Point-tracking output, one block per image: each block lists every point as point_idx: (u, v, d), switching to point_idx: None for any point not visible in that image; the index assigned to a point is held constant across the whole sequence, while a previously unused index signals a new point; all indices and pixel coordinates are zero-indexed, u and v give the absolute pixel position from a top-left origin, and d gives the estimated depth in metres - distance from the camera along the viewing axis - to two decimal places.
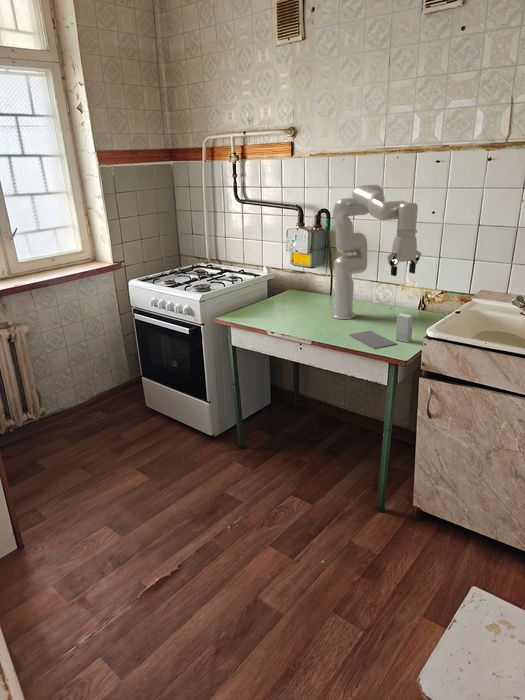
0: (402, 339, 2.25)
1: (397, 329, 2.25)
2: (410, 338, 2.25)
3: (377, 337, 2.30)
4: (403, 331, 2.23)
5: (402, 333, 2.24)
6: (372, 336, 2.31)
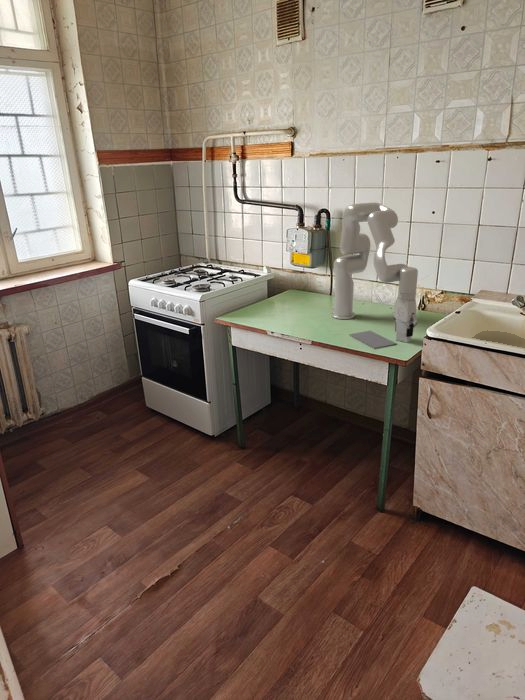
0: (402, 339, 2.25)
1: (397, 329, 2.25)
2: (410, 338, 2.25)
3: (377, 337, 2.30)
4: (403, 331, 2.23)
5: (402, 333, 2.24)
6: (372, 336, 2.31)
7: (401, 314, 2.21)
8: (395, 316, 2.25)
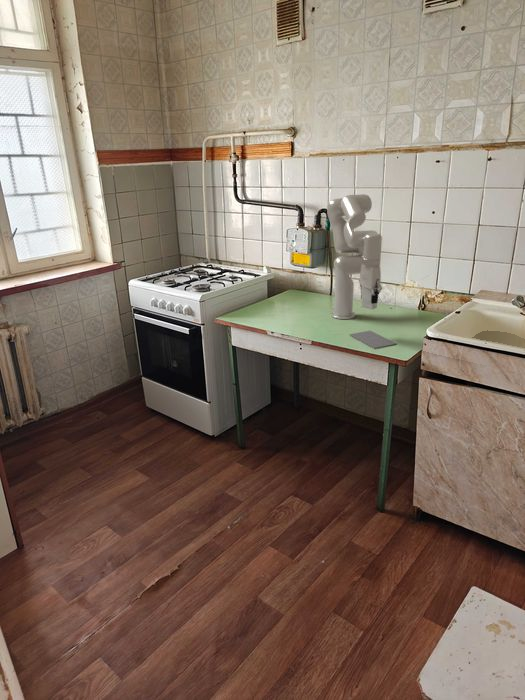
0: (367, 306, 2.26)
1: (362, 296, 2.26)
2: (375, 305, 2.26)
3: (377, 337, 2.30)
4: (368, 298, 2.24)
5: (367, 300, 2.24)
6: (372, 336, 2.31)
7: (366, 281, 2.21)
8: (360, 283, 2.25)
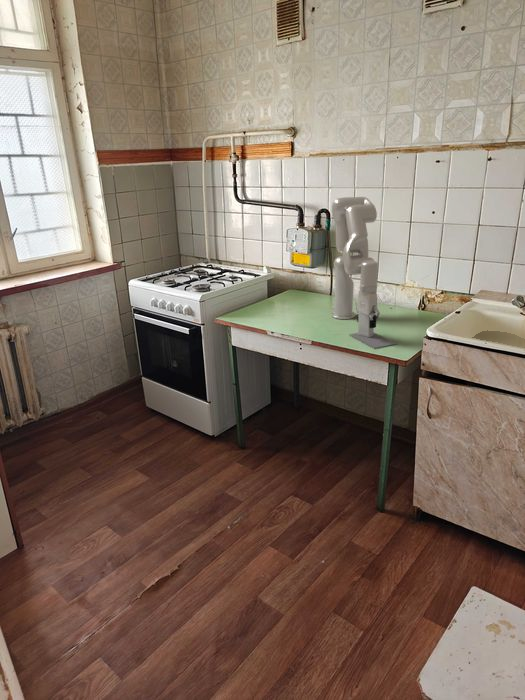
0: (364, 334, 2.31)
1: (359, 324, 2.31)
2: (372, 333, 2.31)
3: (377, 337, 2.30)
4: (365, 326, 2.29)
5: (364, 328, 2.30)
6: (372, 336, 2.31)
7: (363, 307, 2.26)
8: (358, 309, 2.30)
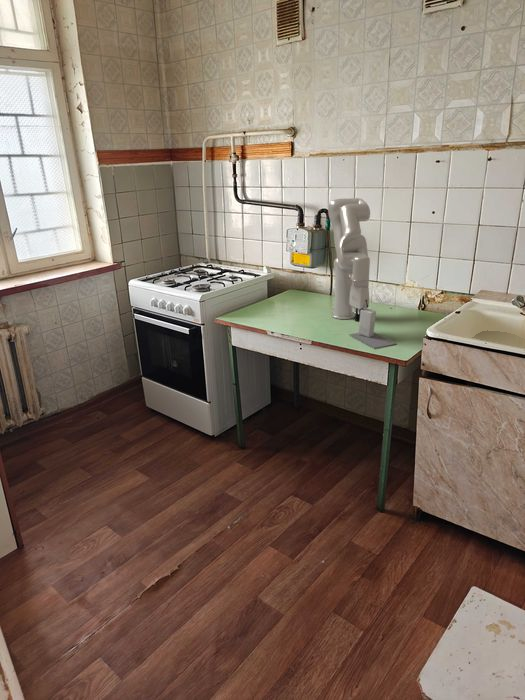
0: (364, 333, 2.31)
1: (360, 323, 2.31)
2: (372, 333, 2.31)
3: (377, 337, 2.30)
4: (366, 326, 2.29)
5: (365, 328, 2.29)
6: (372, 336, 2.31)
7: (355, 301, 2.31)
8: (350, 303, 2.35)
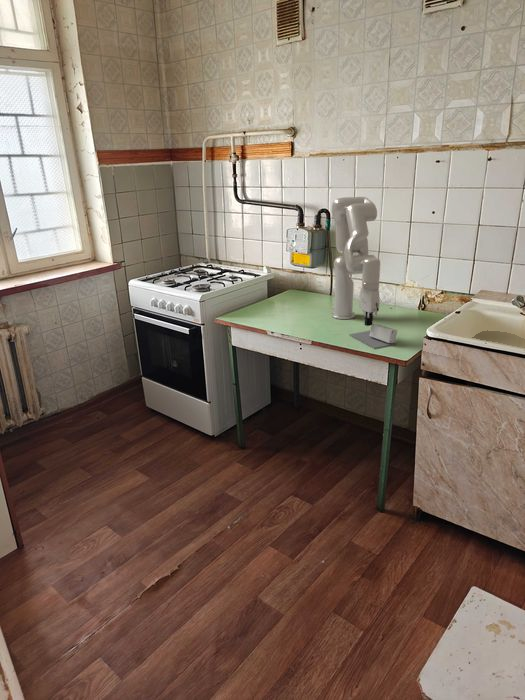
0: (371, 331, 2.28)
1: (379, 327, 2.24)
2: None
3: None
4: (378, 334, 2.25)
5: (376, 333, 2.26)
6: None
7: (365, 304, 2.24)
8: (360, 306, 2.28)
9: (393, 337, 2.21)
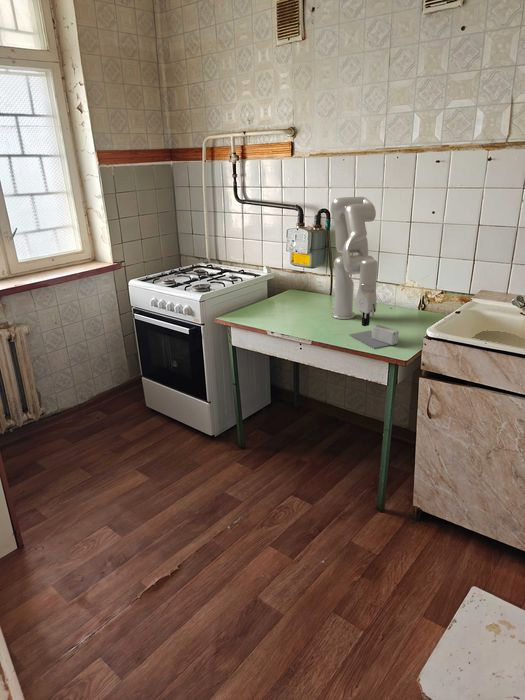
0: (373, 333, 2.27)
1: (381, 330, 2.23)
2: None
3: None
4: (380, 336, 2.24)
5: (378, 335, 2.25)
6: None
7: (362, 305, 2.26)
8: (357, 307, 2.30)
9: (395, 338, 2.20)
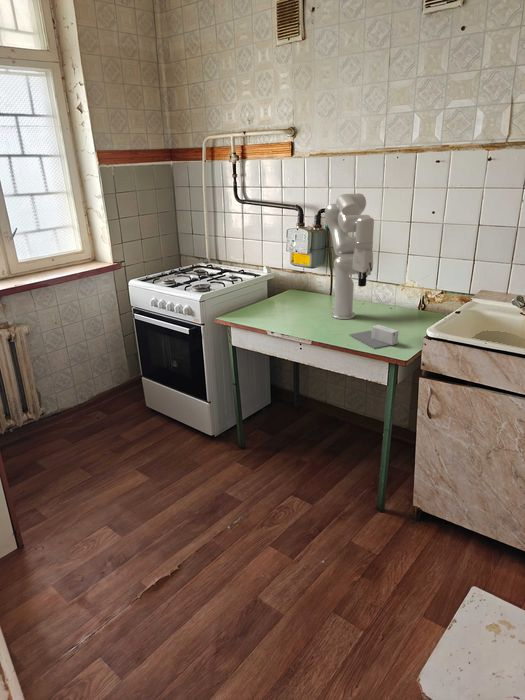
0: (373, 334, 2.27)
1: (380, 330, 2.23)
2: None
3: None
4: (380, 337, 2.24)
5: (378, 335, 2.25)
6: None
7: (358, 264, 2.23)
8: (353, 267, 2.27)
9: (395, 338, 2.20)
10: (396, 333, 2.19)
